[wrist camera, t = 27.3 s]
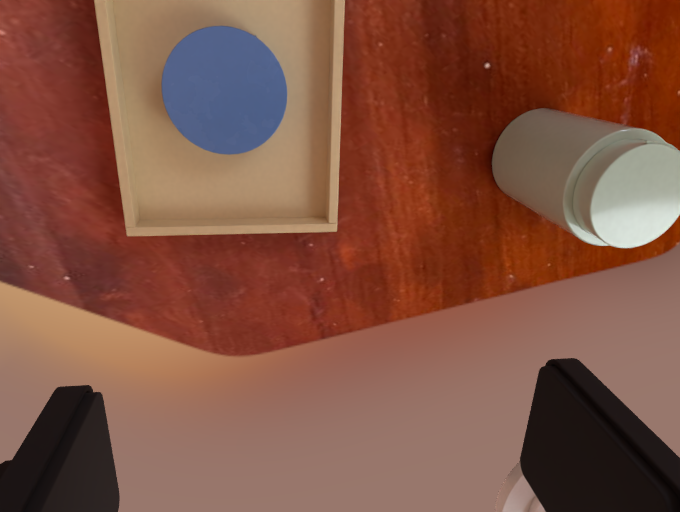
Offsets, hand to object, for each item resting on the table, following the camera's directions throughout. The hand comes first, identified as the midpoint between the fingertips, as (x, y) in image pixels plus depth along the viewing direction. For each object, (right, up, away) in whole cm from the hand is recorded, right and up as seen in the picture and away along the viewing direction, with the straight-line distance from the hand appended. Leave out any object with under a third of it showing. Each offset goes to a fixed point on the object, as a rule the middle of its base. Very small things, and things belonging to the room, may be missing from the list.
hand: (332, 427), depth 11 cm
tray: (-7, +14, +20) cm, 25 cm away
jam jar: (+14, +11, +25) cm, 30 cm away
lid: (-6, +13, +18) cm, 23 cm away
